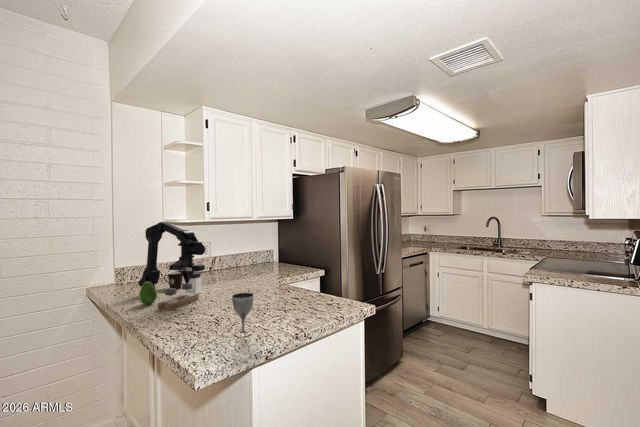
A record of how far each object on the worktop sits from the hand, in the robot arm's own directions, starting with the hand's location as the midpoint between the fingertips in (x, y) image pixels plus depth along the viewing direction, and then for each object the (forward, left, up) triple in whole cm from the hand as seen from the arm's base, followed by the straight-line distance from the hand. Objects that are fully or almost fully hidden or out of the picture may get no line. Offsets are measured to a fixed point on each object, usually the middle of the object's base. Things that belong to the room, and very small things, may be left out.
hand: (187, 283), depth 165 cm
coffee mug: (-28, +22, -10) cm, 37 cm away
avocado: (-15, -11, -10) cm, 21 cm away
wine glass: (+53, -33, -10) cm, 63 cm away
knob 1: (0, -12, -4) cm, 13 cm away
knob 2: (0, 0, -4) cm, 4 cm away
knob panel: (0, -6, -10) cm, 11 cm away
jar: (-8, +15, -10) cm, 20 cm away
